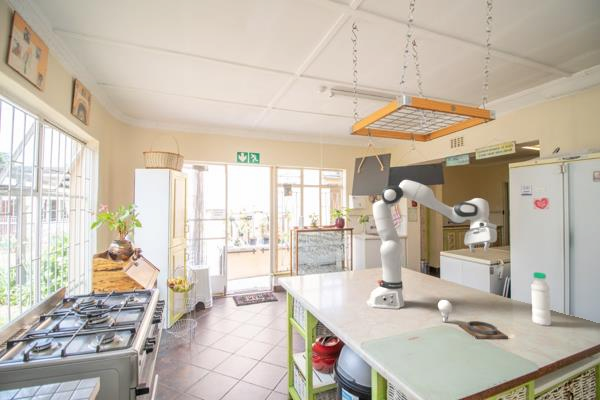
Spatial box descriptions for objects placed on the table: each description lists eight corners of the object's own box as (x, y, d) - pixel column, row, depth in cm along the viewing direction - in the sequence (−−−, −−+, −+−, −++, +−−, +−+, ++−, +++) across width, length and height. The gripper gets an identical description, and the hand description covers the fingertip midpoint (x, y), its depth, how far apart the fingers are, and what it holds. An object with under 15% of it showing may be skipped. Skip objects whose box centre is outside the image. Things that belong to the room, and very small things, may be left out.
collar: (477, 334, 125) (476, 331, 125) (462, 324, 136) (462, 321, 136) (503, 334, 125) (503, 331, 125) (486, 324, 136) (486, 321, 136)
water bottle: (546, 327, 135) (544, 275, 136) (529, 322, 142) (527, 272, 143) (553, 324, 138) (551, 273, 140) (536, 319, 145) (534, 271, 146)
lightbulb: (451, 325, 138) (451, 302, 139) (437, 322, 142) (437, 300, 142) (452, 321, 144) (452, 299, 144) (439, 318, 147) (438, 297, 147)
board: (476, 338, 124) (475, 336, 124) (458, 325, 138) (458, 323, 138) (507, 338, 123) (507, 336, 123) (487, 325, 137) (487, 323, 137)
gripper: (461, 229, 163) (460, 252, 159) (487, 222, 144) (487, 248, 140) (471, 231, 164) (471, 254, 160) (499, 225, 144) (499, 251, 140)
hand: (479, 252), depth 150 cm, fingers open, 8 cm apart
